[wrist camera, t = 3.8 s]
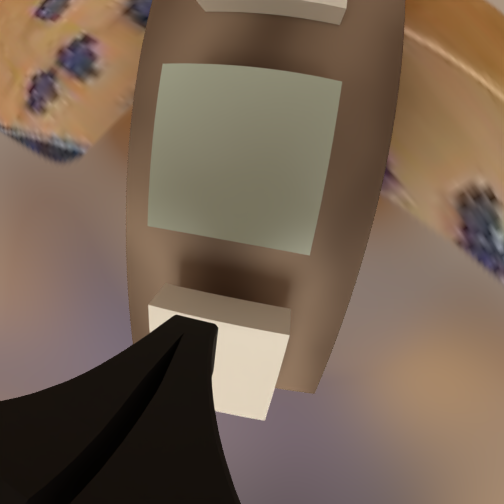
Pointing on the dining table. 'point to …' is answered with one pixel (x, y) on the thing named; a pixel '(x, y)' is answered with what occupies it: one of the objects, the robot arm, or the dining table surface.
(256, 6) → the key
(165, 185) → the key middle
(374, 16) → the board
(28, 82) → the dining table surface
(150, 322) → the key
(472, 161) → the dining table surface
